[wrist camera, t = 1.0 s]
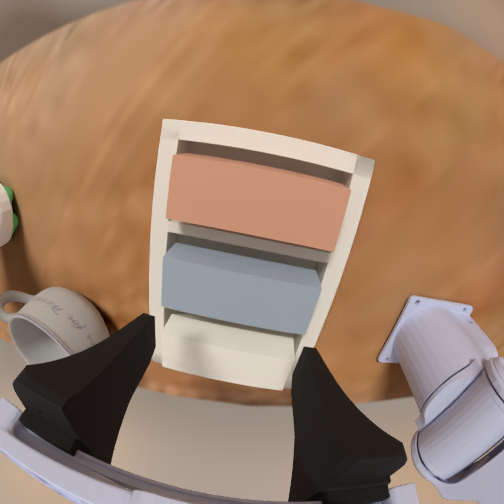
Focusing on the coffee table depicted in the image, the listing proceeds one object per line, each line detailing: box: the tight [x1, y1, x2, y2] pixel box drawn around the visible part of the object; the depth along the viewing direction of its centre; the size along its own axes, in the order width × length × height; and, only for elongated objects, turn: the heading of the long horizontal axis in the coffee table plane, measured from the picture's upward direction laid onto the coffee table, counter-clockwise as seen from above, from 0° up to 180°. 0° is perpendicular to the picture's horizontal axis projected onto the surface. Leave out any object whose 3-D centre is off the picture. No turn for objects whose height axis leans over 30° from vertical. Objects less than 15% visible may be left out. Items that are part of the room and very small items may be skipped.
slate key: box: [161, 242, 322, 335], centre depth 18 cm, size 10×4×2 cm, turn 79°
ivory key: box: [161, 314, 295, 391], centre depth 20 cm, size 10×4×2 cm, turn 79°
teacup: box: [0, 287, 110, 365], centre depth 22 cm, size 14×11×8 cm
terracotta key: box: [166, 153, 351, 252], centre depth 15 cm, size 10×4×2 cm, turn 79°
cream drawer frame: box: [149, 119, 375, 389], centre depth 20 cm, size 13×20×4 cm, turn 169°
